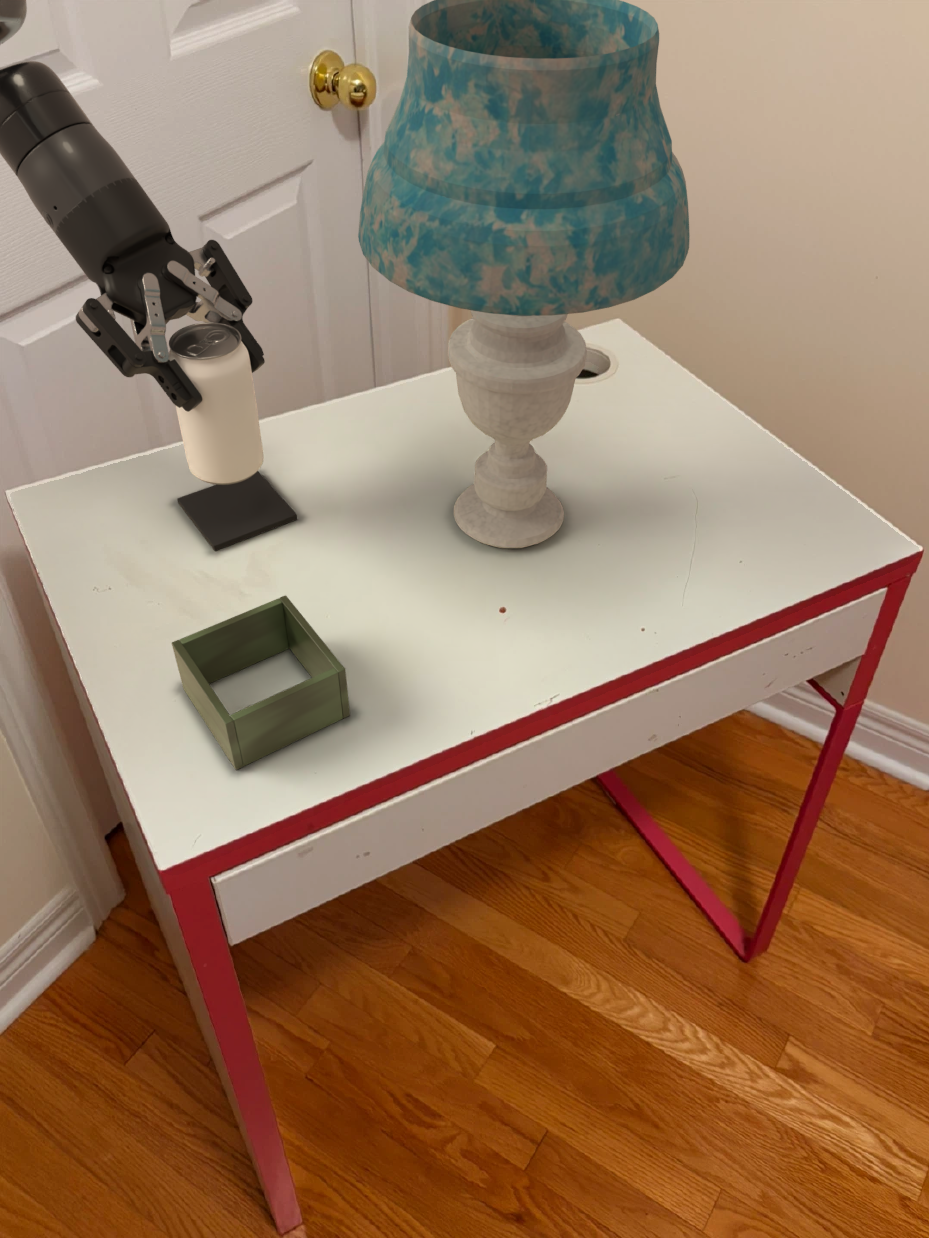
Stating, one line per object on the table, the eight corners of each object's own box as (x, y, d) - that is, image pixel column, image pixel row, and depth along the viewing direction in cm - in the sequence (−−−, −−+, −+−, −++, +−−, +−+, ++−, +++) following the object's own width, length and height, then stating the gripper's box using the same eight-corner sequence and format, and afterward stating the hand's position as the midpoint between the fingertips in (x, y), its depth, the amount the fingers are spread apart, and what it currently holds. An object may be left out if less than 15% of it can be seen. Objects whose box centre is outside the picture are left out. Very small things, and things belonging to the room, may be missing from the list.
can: (279, 458, 92) (263, 334, 83) (230, 496, 88) (207, 370, 79) (223, 435, 94) (202, 311, 86) (172, 470, 90) (145, 345, 82)
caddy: (235, 770, 74) (225, 724, 70) (183, 688, 79) (171, 642, 75) (350, 715, 77) (345, 668, 74) (292, 641, 83) (286, 594, 79)
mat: (214, 551, 90) (213, 546, 90) (177, 503, 95) (176, 498, 95) (297, 519, 94) (296, 514, 93) (258, 474, 98) (257, 469, 98)
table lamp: (687, 576, 89) (796, 62, 61) (414, 632, 83) (398, 98, 56) (582, 424, 105) (631, -36, 77) (349, 463, 100) (312, -15, 72)
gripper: (31, 210, 74) (179, 409, 77) (181, 149, 82) (309, 331, 86) (4, 262, 79) (143, 445, 83) (147, 200, 88) (268, 368, 92)
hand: (227, 386), depth 84 cm, fingers closed on can, 6 cm apart
